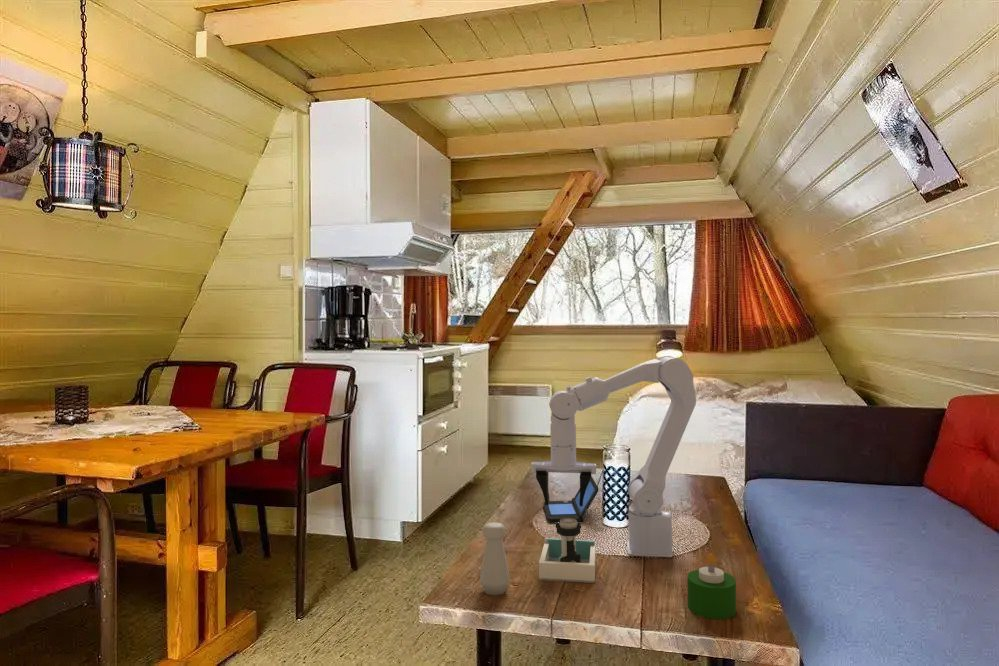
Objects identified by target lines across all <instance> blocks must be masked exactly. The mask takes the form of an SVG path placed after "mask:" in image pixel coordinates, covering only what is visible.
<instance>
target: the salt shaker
mask: <svg viewBox="0 0 999 666" xmlns="http://www.w3.org/2000/svg"><path fill="white" fill-rule="evenodd" d="M482 535H483V538H485V543H484V550H483V558H482V562H481V569H480V576H479V582H480V584H481V586H482V588H483V589H484V592H485V594H487V595H491V596H497V595H503V594H505V591H506V590H507V587H508V585H509V583H510V579H511V578H510V572H509V566H508V562H507V561H508V560H507V557H506V556H507V555H506V552H505V551H506V550H505V546H504V541H503V538H504V537H505V535H506V527H505V525H504V524H503V523H500V522H487V523H486V524H484V525H483V529H482Z"/></svg>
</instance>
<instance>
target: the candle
mask: <svg viewBox="0 0 999 666" xmlns="http://www.w3.org/2000/svg"><path fill="white" fill-rule="evenodd" d="M706 563H707V566H703V567H702V566H701V567H700V568H699V569H694V570H691V571H690V572H689V573H688V574H687V577H686V578H687V581H686V582H687V588H686V589H687V608H688V610H689V611H690V612H691V613H692V614H694V615H696V616H699V617H702V618H704V619H710V620H726V619H730V618H732V617H734V616H735V615H736V614H737V580H736V578H735V577H734V576H733V575H731V574H729V573H727V572H725V571H724V570H722V569H721V568H718V567H715V565H716V563H717V561H716V557H715V555H714V554H713V553H709V554H708V555H707V557H706Z"/></svg>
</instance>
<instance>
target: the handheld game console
mask: <svg viewBox="0 0 999 666" xmlns="http://www.w3.org/2000/svg"><path fill="white" fill-rule="evenodd" d="M598 493H599V486H598V485H597V483H596V481H595V479H594V477H593V476H592V475H591V479H590V482H589V484H588V486H587V489H586V491H585V495H584V499H583V506H580V505H579V501H580V488H579V489H578V491H577V492H576V494H575V496H574V497H572V498H571V500H549V505H545V501H544V502H543V503H542V505H543V510H544V513H545V516H546V521H547V522H548V523H549V522H560V520H561V519H563V518H573V519H576V520H577V522H583V523H584V516H585V515H586V513H587V511H588V510H589V508H590V506H591V504H592V503H593V501H594V500H595V498H596V496H597V495H598Z"/></svg>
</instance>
